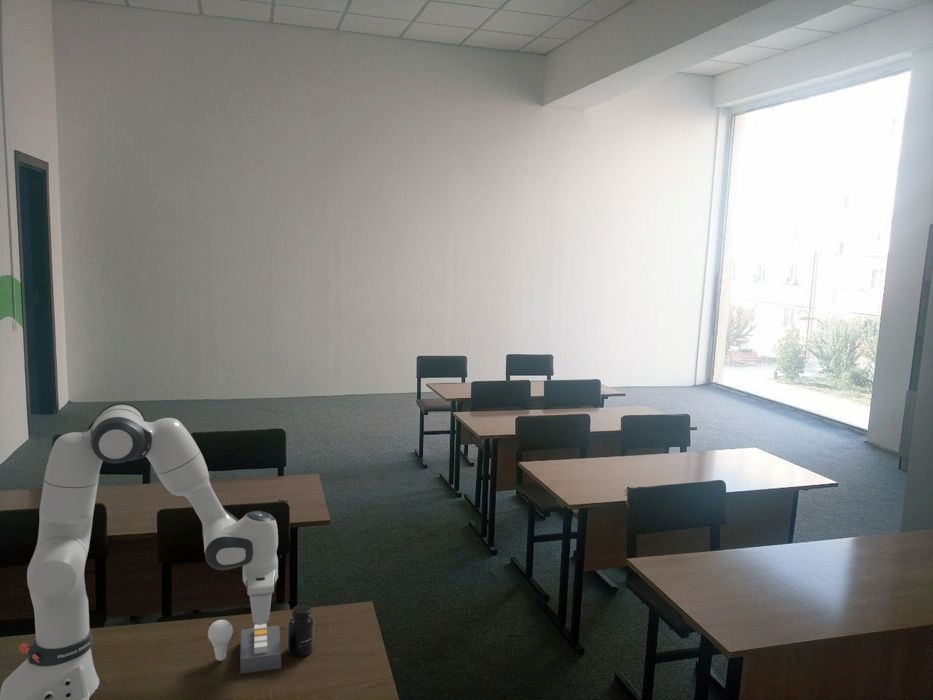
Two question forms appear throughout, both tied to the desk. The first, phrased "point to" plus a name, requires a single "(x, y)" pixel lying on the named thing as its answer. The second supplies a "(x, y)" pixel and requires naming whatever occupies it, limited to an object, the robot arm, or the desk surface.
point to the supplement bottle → (300, 631)
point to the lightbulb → (220, 637)
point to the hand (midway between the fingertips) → (260, 621)
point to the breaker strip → (260, 658)
